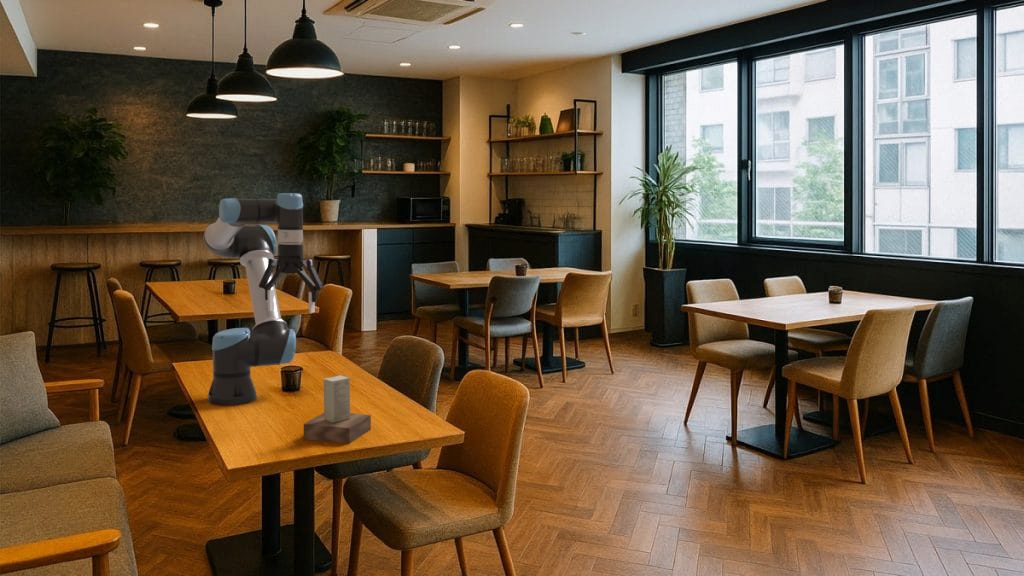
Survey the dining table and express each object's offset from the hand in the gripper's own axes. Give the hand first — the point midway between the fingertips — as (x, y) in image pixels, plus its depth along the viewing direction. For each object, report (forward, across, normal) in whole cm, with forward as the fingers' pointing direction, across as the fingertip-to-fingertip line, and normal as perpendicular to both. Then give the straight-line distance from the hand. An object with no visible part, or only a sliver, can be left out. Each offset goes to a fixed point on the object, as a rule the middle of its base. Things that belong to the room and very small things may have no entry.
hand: (291, 311), depth 250 cm
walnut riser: (+32, +23, -20) cm, 44 cm away
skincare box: (+28, +23, -20) cm, 41 cm away
